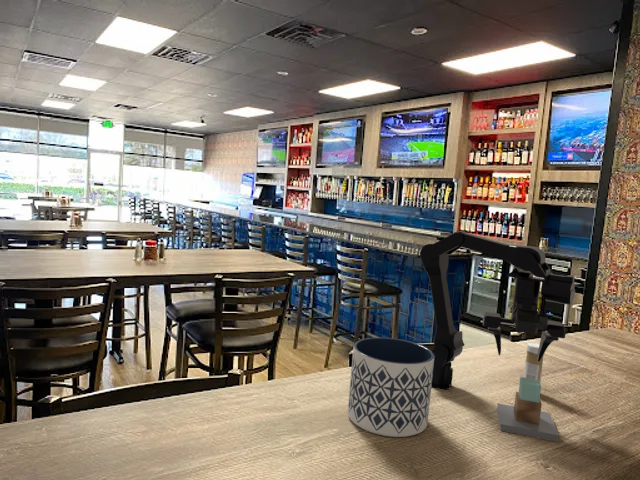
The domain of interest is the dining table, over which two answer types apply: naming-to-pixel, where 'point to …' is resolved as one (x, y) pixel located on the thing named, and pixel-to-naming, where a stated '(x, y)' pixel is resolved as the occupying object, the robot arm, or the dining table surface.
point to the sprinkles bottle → (533, 362)
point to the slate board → (526, 424)
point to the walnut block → (527, 410)
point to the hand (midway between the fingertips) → (518, 357)
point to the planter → (390, 386)
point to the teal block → (529, 389)
